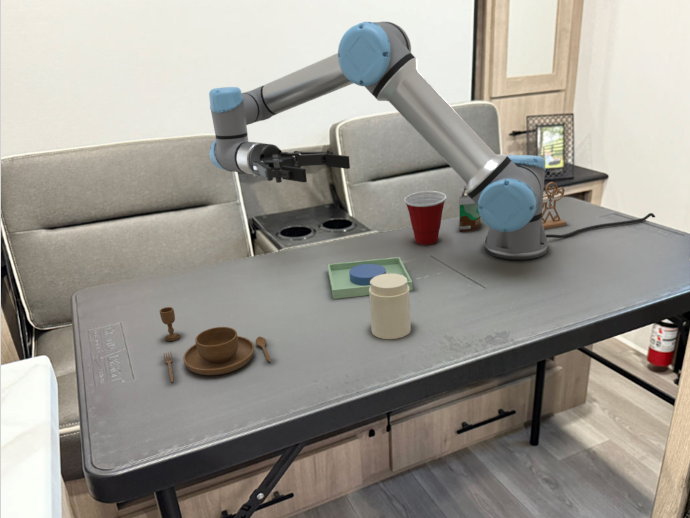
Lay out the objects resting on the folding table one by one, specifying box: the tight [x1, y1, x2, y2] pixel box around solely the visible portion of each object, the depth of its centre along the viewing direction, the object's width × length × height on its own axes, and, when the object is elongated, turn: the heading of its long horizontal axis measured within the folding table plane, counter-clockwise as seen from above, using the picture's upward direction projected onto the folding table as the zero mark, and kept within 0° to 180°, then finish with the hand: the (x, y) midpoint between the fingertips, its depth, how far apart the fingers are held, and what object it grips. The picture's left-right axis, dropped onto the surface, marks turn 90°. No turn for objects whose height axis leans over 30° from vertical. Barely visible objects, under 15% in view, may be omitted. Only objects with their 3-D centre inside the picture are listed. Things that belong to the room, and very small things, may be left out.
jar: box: [368, 274, 412, 340], centre depth 111 cm, size 7×7×10 cm
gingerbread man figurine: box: [542, 181, 567, 230], centre depth 162 cm, size 9×4×12 cm, turn 111°
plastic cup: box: [403, 190, 447, 246], centre depth 154 cm, size 11×11×12 cm
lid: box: [349, 264, 386, 286], centre depth 134 cm, size 8×8×2 cm
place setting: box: [159, 306, 271, 383], centre depth 107 cm, size 18×20×6 cm
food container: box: [458, 185, 482, 233], centre depth 164 cm, size 12×6×10 cm, turn 168°
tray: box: [326, 256, 414, 300], centre depth 134 cm, size 17×15×2 cm
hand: (327, 168), depth 130 cm, fingers open, 13 cm apart
